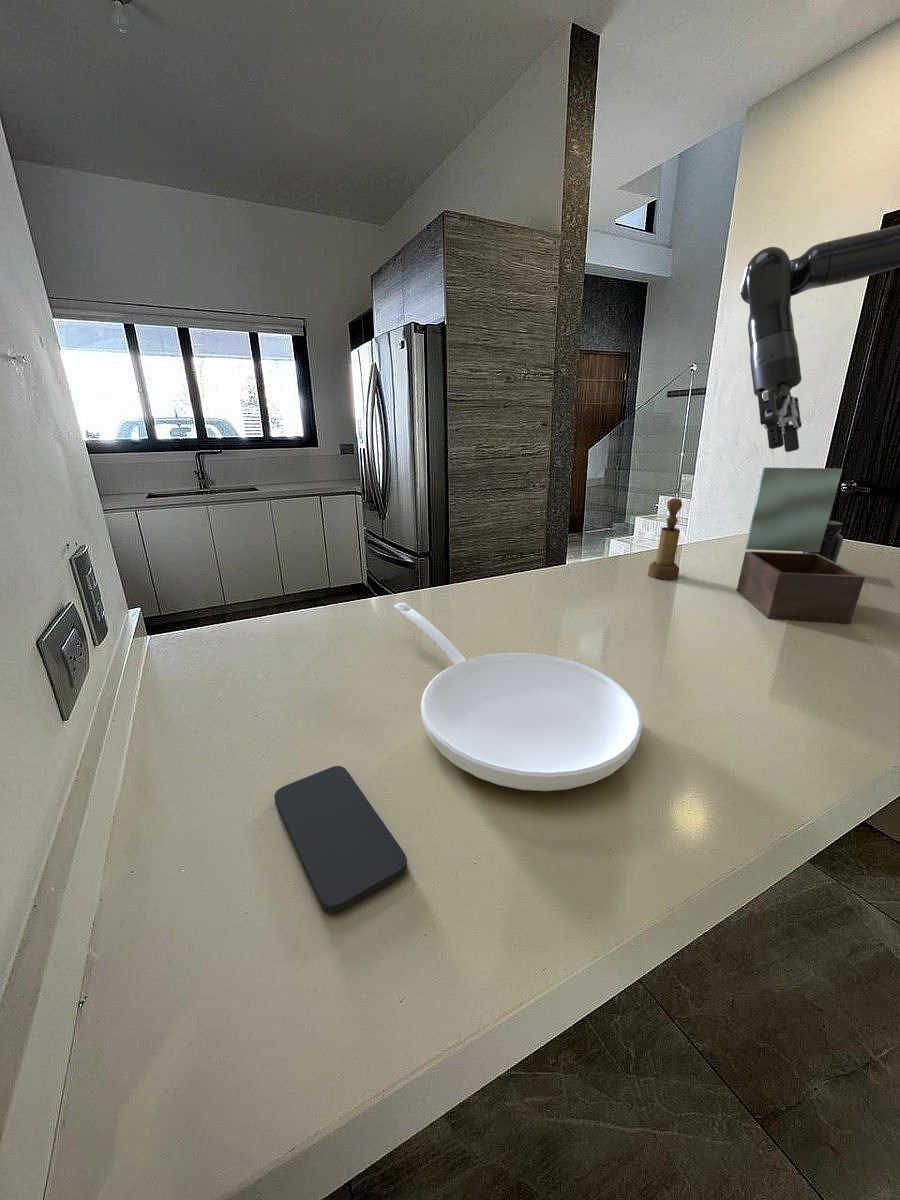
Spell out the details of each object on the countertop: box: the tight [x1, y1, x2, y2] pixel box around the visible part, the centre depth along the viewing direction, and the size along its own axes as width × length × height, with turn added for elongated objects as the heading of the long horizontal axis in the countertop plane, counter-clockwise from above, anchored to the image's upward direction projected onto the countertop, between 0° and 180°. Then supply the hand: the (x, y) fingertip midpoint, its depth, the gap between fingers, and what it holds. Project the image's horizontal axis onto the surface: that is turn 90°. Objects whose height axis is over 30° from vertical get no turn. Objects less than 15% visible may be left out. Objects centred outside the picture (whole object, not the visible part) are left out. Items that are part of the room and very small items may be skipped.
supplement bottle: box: [802, 520, 844, 563], centre depth 113 cm, size 7×7×12 cm
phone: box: [273, 765, 408, 913], centre depth 43 cm, size 7×1×15 cm
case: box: [736, 550, 866, 624], centre depth 93 cm, size 16×14×9 cm
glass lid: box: [744, 466, 843, 553], centre depth 95 cm, size 16×14×1 cm
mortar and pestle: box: [647, 497, 683, 581], centre depth 109 cm, size 7×6×18 cm
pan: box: [392, 602, 643, 792], centre depth 63 cm, size 25×44×6 cm, turn 34°
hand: (784, 449), depth 92 cm, fingers open, 8 cm apart
